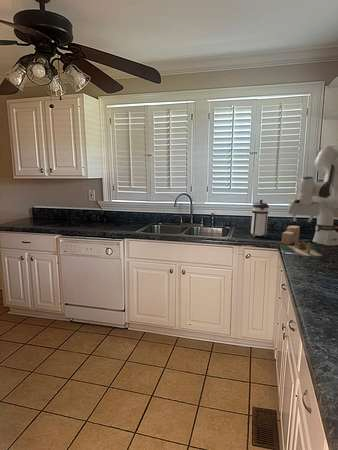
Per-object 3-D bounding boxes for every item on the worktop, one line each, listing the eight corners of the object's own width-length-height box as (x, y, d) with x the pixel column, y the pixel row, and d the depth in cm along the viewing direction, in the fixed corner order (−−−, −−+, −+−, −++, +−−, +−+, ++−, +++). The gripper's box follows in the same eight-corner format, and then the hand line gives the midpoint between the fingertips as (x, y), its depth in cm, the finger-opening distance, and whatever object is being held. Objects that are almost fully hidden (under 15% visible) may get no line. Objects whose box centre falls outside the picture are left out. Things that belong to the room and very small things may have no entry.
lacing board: (306, 248, 219) (307, 236, 218) (323, 258, 196) (324, 245, 194) (286, 247, 219) (287, 236, 217) (301, 257, 195) (302, 244, 194)
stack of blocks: (289, 246, 223) (291, 230, 220) (280, 245, 226) (282, 228, 224) (298, 241, 239) (300, 226, 237) (290, 240, 243) (291, 224, 241)
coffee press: (272, 236, 253) (275, 200, 247) (259, 239, 244) (262, 201, 238) (255, 232, 267) (258, 198, 261) (242, 234, 258) (245, 198, 252)
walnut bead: (302, 247, 216) (303, 241, 215) (306, 249, 210) (307, 243, 209) (294, 246, 216) (294, 241, 215) (297, 249, 210) (298, 243, 209)
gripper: (318, 201, 209) (315, 221, 211) (287, 199, 210) (285, 220, 212) (322, 202, 203) (319, 223, 205) (291, 200, 204) (288, 221, 206)
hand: (302, 221), depth 209 cm, fingers open, 8 cm apart
